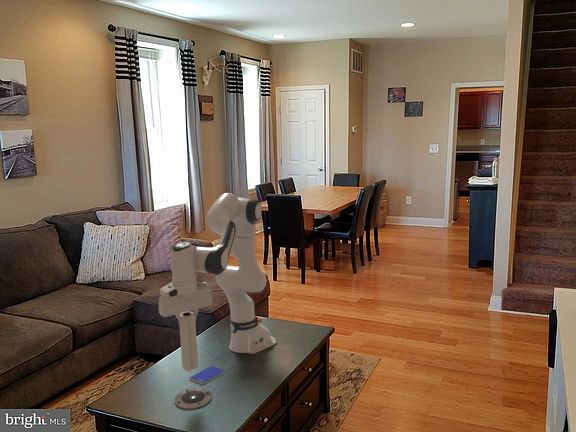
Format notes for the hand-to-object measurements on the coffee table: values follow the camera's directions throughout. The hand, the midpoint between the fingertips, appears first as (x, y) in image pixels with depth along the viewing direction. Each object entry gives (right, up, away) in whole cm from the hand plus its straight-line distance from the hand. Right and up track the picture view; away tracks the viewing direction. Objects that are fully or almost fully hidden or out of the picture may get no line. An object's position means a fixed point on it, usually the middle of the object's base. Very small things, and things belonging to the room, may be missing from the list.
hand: (187, 321), depth 189 cm
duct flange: (+1, -31, +6) cm, 32 cm away
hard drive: (+3, -29, +24) cm, 37 cm away
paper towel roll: (0, -18, +3) cm, 19 cm away
